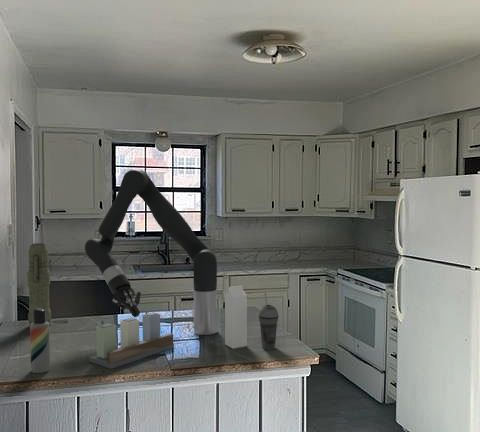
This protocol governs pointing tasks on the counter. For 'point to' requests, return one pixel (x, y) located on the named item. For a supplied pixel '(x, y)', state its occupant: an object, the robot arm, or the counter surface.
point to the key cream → (129, 332)
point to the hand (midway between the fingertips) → (137, 315)
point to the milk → (236, 317)
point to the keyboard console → (134, 352)
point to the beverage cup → (268, 325)
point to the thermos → (38, 280)
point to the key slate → (151, 326)
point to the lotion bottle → (40, 342)
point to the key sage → (105, 339)
